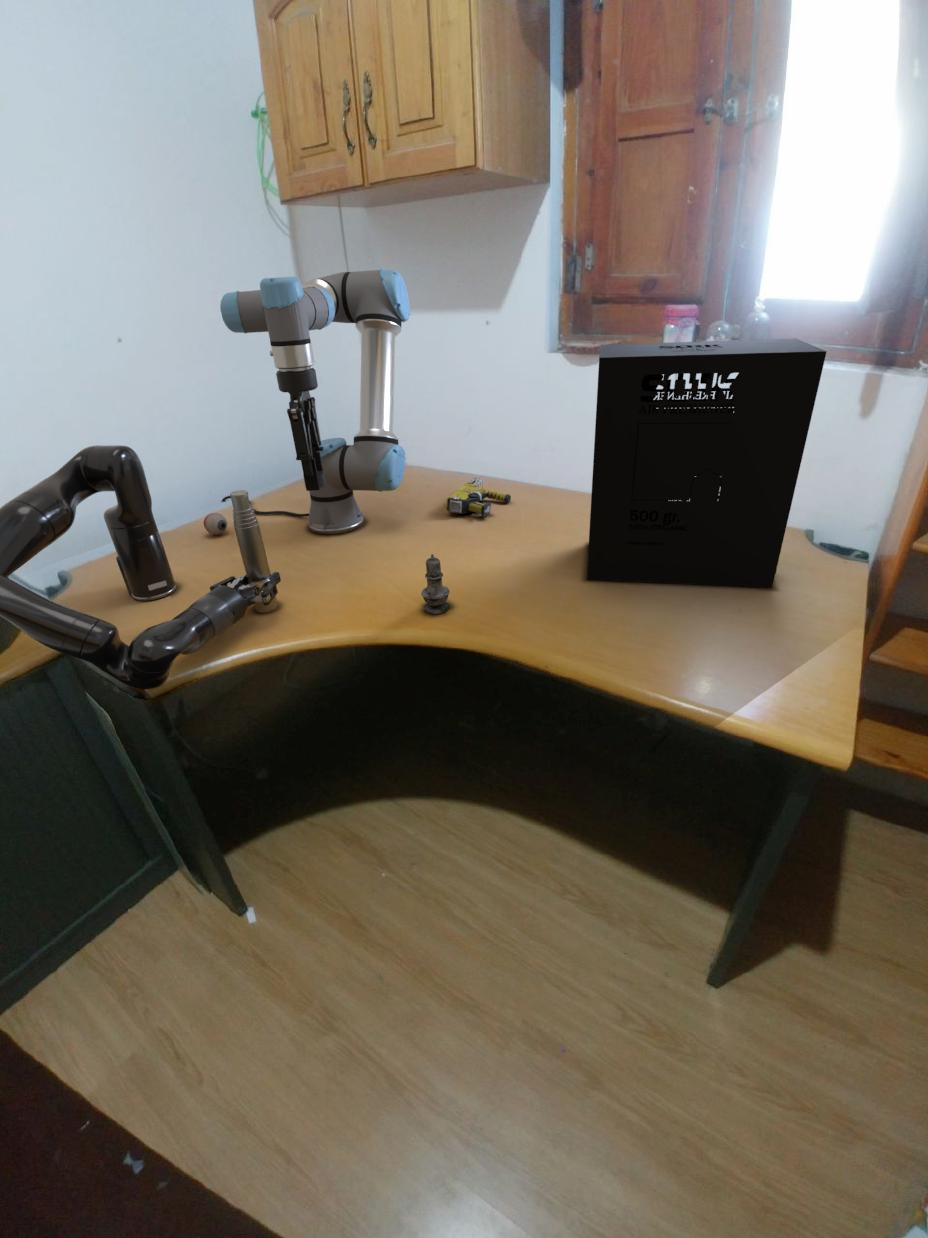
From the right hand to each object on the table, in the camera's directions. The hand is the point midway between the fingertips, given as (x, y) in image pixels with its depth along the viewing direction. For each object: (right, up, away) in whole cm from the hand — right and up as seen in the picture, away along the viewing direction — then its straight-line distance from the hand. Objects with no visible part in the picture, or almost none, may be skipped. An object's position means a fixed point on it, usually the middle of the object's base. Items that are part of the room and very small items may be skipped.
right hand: (315, 486), depth 128 cm
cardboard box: (+79, -16, +9) cm, 81 cm away
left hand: (-10, -19, 0) cm, 21 cm away
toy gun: (+37, +6, +50) cm, 63 cm away
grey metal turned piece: (+26, -26, -3) cm, 37 cm away
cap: (0, 0, 0) cm, 0 cm away
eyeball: (-37, -5, +40) cm, 55 cm away
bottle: (-11, -26, +1) cm, 28 cm away
